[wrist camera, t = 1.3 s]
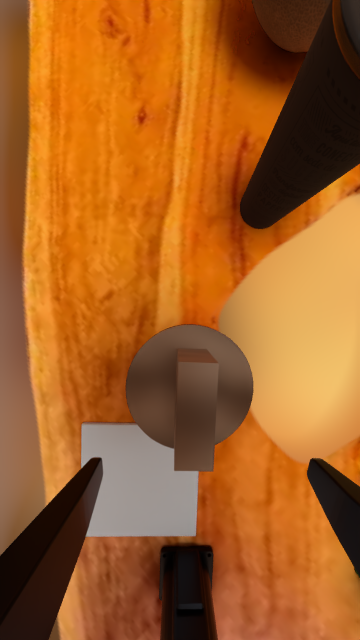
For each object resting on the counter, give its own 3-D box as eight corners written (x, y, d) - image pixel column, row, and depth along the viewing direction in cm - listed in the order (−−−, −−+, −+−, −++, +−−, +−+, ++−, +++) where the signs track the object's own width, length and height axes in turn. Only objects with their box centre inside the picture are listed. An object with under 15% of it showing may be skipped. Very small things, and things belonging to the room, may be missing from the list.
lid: (244, 442, 16) (276, 501, 11) (127, 440, 16) (105, 500, 11) (251, 326, 16) (288, 333, 11) (130, 322, 15) (109, 326, 10)
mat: (195, 531, 22) (195, 535, 21) (82, 532, 21) (80, 536, 21) (199, 424, 21) (200, 426, 21) (83, 422, 20) (81, 424, 20)
